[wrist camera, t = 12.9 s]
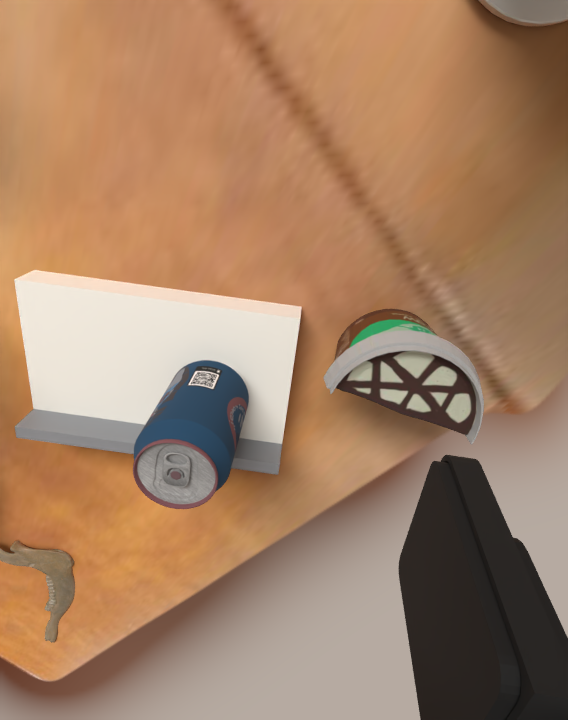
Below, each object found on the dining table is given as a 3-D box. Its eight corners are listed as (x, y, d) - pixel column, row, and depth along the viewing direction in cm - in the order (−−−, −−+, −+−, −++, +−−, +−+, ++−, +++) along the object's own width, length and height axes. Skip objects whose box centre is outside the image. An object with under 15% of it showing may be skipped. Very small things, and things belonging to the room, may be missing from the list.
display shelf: (301, 306, 40) (298, 332, 35) (282, 438, 47) (277, 478, 41) (34, 270, 40) (-9, 290, 35) (51, 406, 47) (17, 441, 41)
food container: (480, 325, 40) (526, 379, 31) (444, 382, 42) (478, 447, 34) (350, 274, 39) (359, 315, 30) (322, 336, 41) (323, 391, 32)
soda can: (246, 426, 43) (221, 523, 32) (173, 413, 43) (123, 506, 32) (255, 361, 40) (231, 444, 29) (176, 347, 39) (123, 425, 29)
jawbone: (64, 526, 56) (57, 540, 54) (113, 630, 65) (108, 645, 63) (-6, 534, 56) (-16, 547, 54) (51, 636, 65) (45, 651, 63)
